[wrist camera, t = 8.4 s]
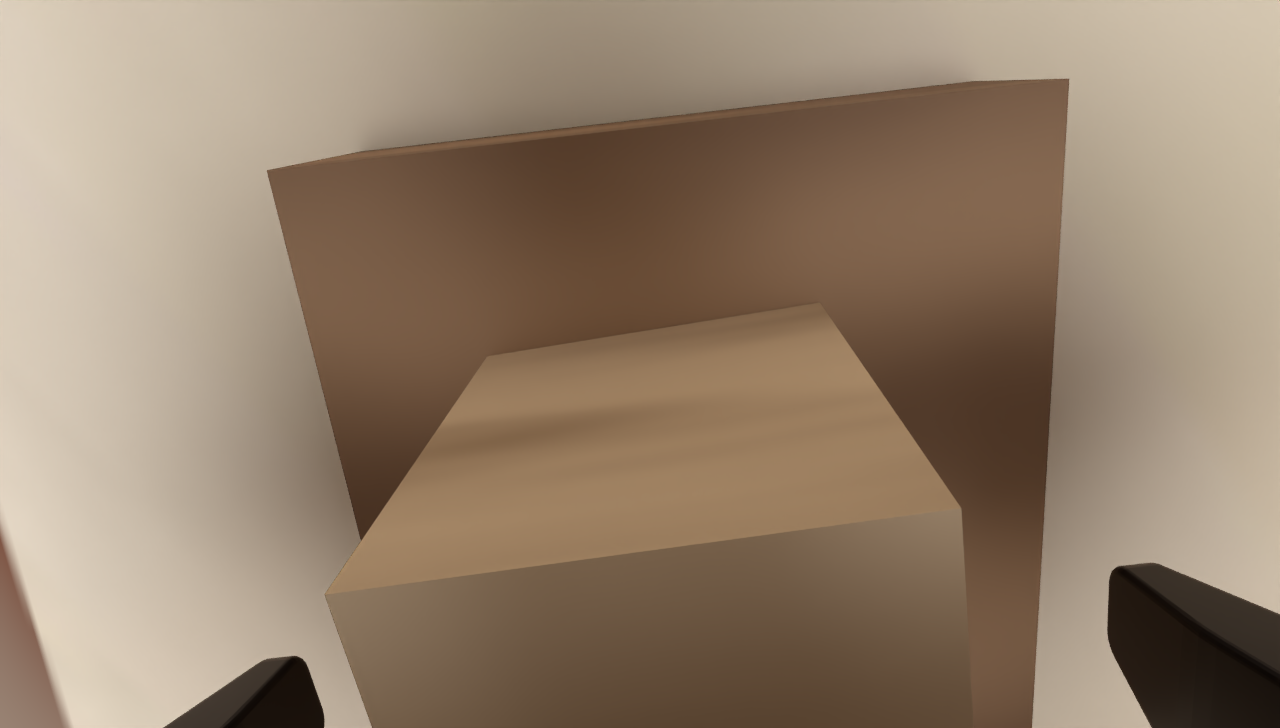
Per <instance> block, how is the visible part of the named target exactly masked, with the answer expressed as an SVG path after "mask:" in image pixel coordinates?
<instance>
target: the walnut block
mask: <svg viewBox="0 0 1280 728" xmlns="http://www.w3.org/2000/svg"><path fill="white" fill-rule="evenodd" d="M1068 91H1069V79H1044V80H1007V81H972V82H963V83H955V84H946V85H937V86H928V87H920V88H911V89H902V90H894V91H885V92H876V93H868V94H859V95H850V96H841V97H833V98H824V99H815V100H807V101H798V102H789V103H781V104H772V105H763V106H754V107H746V108H737V109H728V110H720V111H711V112H702V113H693V114H685V115H676V116H667V117H659V118H650V119H641V120H633V121H624V122H615V123H606V124H598V125H589V126H580V127H572V128H563V129H554V130H546V131H537V132H528V133H519V134H511V135H502V136H493V137H485V138H476V139H467V140H458V141H450V142H441V143H432V144H424V145H415V146H406V147H398V148H389V149H380V150H371V151H363V152H356V153H351V154H346V155H341V156H337V157H332V158H327V159H322V160H317V161H312V162H307V163H302V164H297V165H292V166H287V167H282V168H277V169H272V170H267V173H268V177H269V181H270V185H271V189H272V193H273V197H274V201H275V205H276V209H277V212H278V216H279V220H280V224H281V228H282V232H283V236H284V240H285V244H286V248H287V252H288V256H289V260H290V264H291V267H292V271H293V275H294V279H295V283H296V287H297V291H298V295H299V299H300V303H301V307H302V311H303V315H304V319H305V322H306V326H307V330H308V334H309V338H310V342H311V346H312V350H313V354H314V358H315V362H316V366H317V370H318V373H319V377H320V381H321V385H322V389H323V393H324V397H325V401H326V405H327V409H328V413H329V417H330V421H331V425H332V428H333V432H334V436H335V440H336V444H337V448H338V452H339V456H340V460H341V464H342V468H343V472H344V476H345V480H346V483H347V487H348V491H349V495H350V499H351V503H352V507H353V511H354V515H355V519H356V523H357V527H358V531H359V535H360V538H361V541H362V539H363V538H364V536H365V535H366V533H367V532H368V530H369V529H370V527H371V526H372V524H373V523H374V522H375V520H376V519H377V517H378V516H379V514H380V513H381V511H382V510H383V508H384V507H385V505H386V504H387V502H388V501H389V500H390V498H391V497H392V495H393V494H394V492H395V491H396V489H397V488H398V486H399V485H400V483H401V482H402V480H403V479H404V478H405V476H406V475H407V473H408V472H409V470H410V469H411V467H412V466H413V464H414V463H415V461H416V460H417V458H418V457H419V456H420V454H421V453H422V451H423V450H424V448H425V447H426V445H427V444H428V442H429V441H430V439H431V438H432V436H433V435H434V434H435V432H436V431H437V429H438V428H439V426H440V425H441V423H442V422H443V420H444V419H445V417H446V416H447V415H448V413H449V412H450V410H451V409H452V407H453V406H454V404H455V403H456V401H457V400H458V398H459V397H460V395H461V394H462V393H463V391H464V390H465V388H466V387H467V385H468V384H469V382H470V381H471V379H472V378H473V376H474V375H475V373H476V372H477V371H478V369H479V368H480V366H481V365H482V363H483V362H484V360H485V359H486V357H487V356H492V355H498V354H504V353H511V352H517V351H523V350H529V349H535V348H541V347H548V346H554V345H560V344H566V343H572V342H579V341H585V340H591V339H597V338H603V337H609V336H616V335H622V334H628V333H634V332H640V331H647V330H653V329H659V328H665V327H671V326H677V325H684V324H690V323H696V322H702V321H708V320H715V319H721V318H727V317H733V316H739V315H745V314H752V313H758V312H764V311H770V310H776V309H783V308H789V307H795V306H801V305H807V304H813V303H820V304H821V305H822V306H823V308H824V309H825V311H826V312H827V314H828V315H829V317H830V318H831V320H832V321H833V322H834V324H835V325H836V327H837V328H838V330H839V331H840V333H841V334H842V335H843V337H844V338H845V340H846V341H847V343H848V344H849V346H850V347H851V349H852V350H853V351H854V353H855V354H856V356H857V357H858V359H859V360H860V362H861V363H862V365H863V366H864V367H865V369H866V370H867V372H868V373H869V375H870V376H871V378H872V379H873V381H874V382H875V383H876V385H877V386H878V388H879V389H880V391H881V392H882V394H883V395H884V397H885V398H886V399H887V401H888V402H889V404H890V405H891V407H892V408H893V410H894V411H895V413H896V414H897V415H898V417H899V418H900V420H901V421H902V423H903V424H904V426H905V427H906V428H907V430H908V431H909V433H910V434H911V436H912V437H913V439H914V440H915V442H916V443H917V444H918V446H919V447H920V449H921V450H922V452H923V453H924V455H925V456H926V458H927V459H928V460H929V462H930V463H931V465H932V466H933V468H934V469H935V471H936V472H937V474H938V475H939V476H940V478H941V479H942V481H943V482H944V484H945V485H946V487H947V488H948V490H949V491H950V492H951V494H952V495H953V497H954V498H955V500H956V501H957V503H958V504H959V506H960V507H961V511H962V528H963V546H964V564H965V581H966V599H967V616H968V634H969V652H970V669H971V687H972V704H973V722H974V728H1032V714H1033V697H1034V680H1035V662H1036V645H1037V628H1038V610H1039V593H1040V576H1041V559H1042V541H1043V524H1044V507H1045V489H1046V472H1047V455H1048V437H1049V420H1050V403H1051V385H1052V368H1053V351H1054V333H1055V316H1056V299H1057V281H1058V264H1059V247H1060V229H1061V212H1062V195H1063V177H1064V160H1065V143H1066V125H1067V108H1068Z"/></svg>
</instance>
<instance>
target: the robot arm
mask: <svg viewBox="0 0 1280 728" xmlns="http://www.w3.org/2000/svg"><path fill="white" fill-rule="evenodd" d="M1107 630H1108V640H1109V644H1110V647H1111V650H1112V653H1113V655H1114V657H1115V659H1116V661H1117V663H1118V665H1119V667H1120V668H1121V670H1122V672H1123V674H1124V676H1125V678H1126V680H1127V682H1128V684H1129V686H1130V687H1131V689H1132V691H1133V693H1134V695H1135V697H1136V699H1137V701H1138V703H1139V704H1140V706H1141V708H1142V710H1143V712H1144V714H1145V716H1146V718H1147V720H1148V722H1149V723H1150V725H1151V727H1152V728H1280V614H1278V613H1275V612H1273V611H1270V610H1268V609H1266V608H1263V607H1261V606H1258V605H1256V604H1254V603H1251V602H1249V601H1246V600H1244V599H1242V598H1239V597H1237V596H1234V595H1232V594H1230V593H1227V592H1225V591H1222V590H1220V589H1217V588H1215V587H1213V586H1210V585H1208V584H1205V583H1203V582H1201V581H1198V580H1196V579H1193V578H1191V577H1189V576H1186V575H1184V574H1181V573H1179V572H1176V571H1174V570H1172V569H1169V568H1167V567H1164V566H1162V565H1159V564H1156V563H1144V564H1135V565H1126V566H1118V567H1116V568H1115V569H1114V570H1113V571H1112V573H1111V575H1110V580H1109V600H1108V627H1107ZM164 728H324V713H323V709H322V706H321V703H320V700H319V697H318V695H317V692H316V689H315V686H314V683H313V680H312V678H311V675H310V672H309V669H308V667H307V664H306V662H305V661H304V660H303V659H302V658H300V657H297V656H289V657H280V658H271V659H266V660H263V661H261V662H260V663H258V664H257V665H255V666H254V667H252V668H251V669H249V670H248V671H246V672H245V673H243V674H242V675H240V676H239V677H237V678H236V679H234V680H233V681H232V682H230V683H229V684H227V685H226V686H224V687H223V688H221V689H220V690H218V691H217V692H215V693H214V694H212V695H211V696H209V697H208V698H206V699H205V700H203V701H202V702H201V703H199V704H198V705H196V706H195V707H193V708H192V709H190V710H189V711H187V712H186V713H184V714H183V715H181V716H180V717H178V718H177V719H175V720H174V721H173V722H171V723H170V724H168V725H167V726H165V727H164Z"/></svg>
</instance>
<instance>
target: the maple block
mask: <svg viewBox="0 0 1280 728" xmlns="http://www.w3.org/2000/svg"><path fill="white" fill-rule="evenodd" d="M325 597H326V600H327V603H328V606H329V609H330V611H331V614H332V617H333V620H334V623H335V625H336V628H337V631H338V634H339V636H340V639H341V642H342V645H343V648H344V650H345V653H346V656H347V659H348V662H349V664H350V667H351V670H352V673H353V675H354V678H355V681H356V684H357V687H358V689H359V692H360V695H361V698H362V701H363V703H364V706H365V709H366V712H367V714H368V717H369V720H370V723H371V726H372V728H974V722H973V704H972V687H971V669H970V652H969V634H968V616H967V599H966V581H965V564H964V546H963V528H962V511H961V507H960V506H959V504H958V503H957V501H956V500H955V498H954V497H953V495H952V494H951V492H950V491H949V490H948V488H947V487H946V485H945V484H944V482H943V481H942V479H941V478H940V476H939V475H938V474H937V472H936V471H935V469H934V468H933V466H932V465H931V463H930V462H929V460H928V459H927V458H926V456H925V455H924V453H923V452H922V450H921V449H920V447H919V446H918V444H917V443H916V442H915V440H914V439H913V437H912V436H911V434H910V433H909V431H908V430H907V428H906V427H905V426H904V424H903V423H902V421H901V420H900V418H899V417H898V415H897V414H896V413H895V411H894V410H893V408H892V407H891V405H890V404H889V402H888V401H887V399H886V398H885V397H884V395H883V394H882V392H881V391H880V389H879V388H878V386H877V385H876V383H875V382H874V381H873V379H872V378H871V376H870V375H869V373H868V372H867V370H866V369H865V367H864V366H863V365H862V363H861V362H860V360H859V359H858V357H857V356H856V354H855V353H854V351H853V350H852V349H851V347H850V346H849V344H848V343H847V341H846V340H845V338H844V337H843V335H842V334H841V333H840V331H839V330H838V328H837V327H836V325H835V324H834V322H833V321H832V320H831V318H830V317H829V315H828V314H827V312H826V311H825V309H824V308H823V306H822V305H821V304H820V303H813V304H807V305H801V306H795V307H789V308H783V309H776V310H770V311H764V312H758V313H752V314H745V315H739V316H733V317H727V318H721V319H715V320H708V321H702V322H696V323H690V324H684V325H677V326H671V327H665V328H659V329H653V330H647V331H640V332H634V333H628V334H622V335H616V336H609V337H603V338H597V339H591V340H585V341H579V342H572V343H566V344H560V345H554V346H548V347H541V348H535V349H529V350H523V351H517V352H511V353H504V354H498V355H492V356H487V357H486V359H485V360H484V362H483V363H482V365H481V366H480V368H479V369H478V371H477V372H476V373H475V375H474V376H473V378H472V379H471V381H470V382H469V384H468V385H467V387H466V388H465V390H464V391H463V393H462V394H461V395H460V397H459V398H458V400H457V401H456V403H455V404H454V406H453V407H452V409H451V410H450V412H449V413H448V415H447V416H446V417H445V419H444V420H443V422H442V423H441V425H440V426H439V428H438V429H437V431H436V432H435V434H434V435H433V436H432V438H431V439H430V441H429V442H428V444H427V445H426V447H425V448H424V450H423V451H422V453H421V454H420V456H419V457H418V458H417V460H416V461H415V463H414V464H413V466H412V467H411V469H410V470H409V472H408V473H407V475H406V476H405V478H404V479H403V480H402V482H401V483H400V485H399V486H398V488H397V489H396V491H395V492H394V494H393V495H392V497H391V498H390V500H389V501H388V502H387V504H386V505H385V507H384V508H383V510H382V511H381V513H380V514H379V516H378V517H377V519H376V520H375V522H374V523H373V524H372V526H371V527H370V529H369V530H368V532H367V533H366V535H365V536H364V538H363V539H362V541H361V542H360V543H359V545H358V546H357V548H356V549H355V551H354V552H353V554H352V555H351V557H350V558H349V560H348V561H347V563H346V564H345V565H344V567H343V568H342V570H341V571H340V573H339V574H338V576H337V577H336V579H335V580H334V582H333V583H332V585H331V586H330V587H329V589H328V590H327V592H326V593H325Z"/></svg>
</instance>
